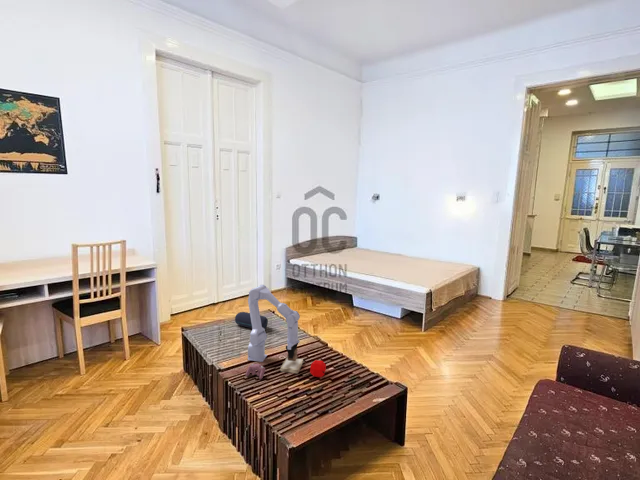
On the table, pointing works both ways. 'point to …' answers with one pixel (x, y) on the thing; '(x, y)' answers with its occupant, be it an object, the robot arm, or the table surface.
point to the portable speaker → (249, 320)
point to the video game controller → (253, 369)
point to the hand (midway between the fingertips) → (292, 355)
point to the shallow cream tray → (292, 365)
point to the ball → (318, 368)
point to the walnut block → (293, 356)
